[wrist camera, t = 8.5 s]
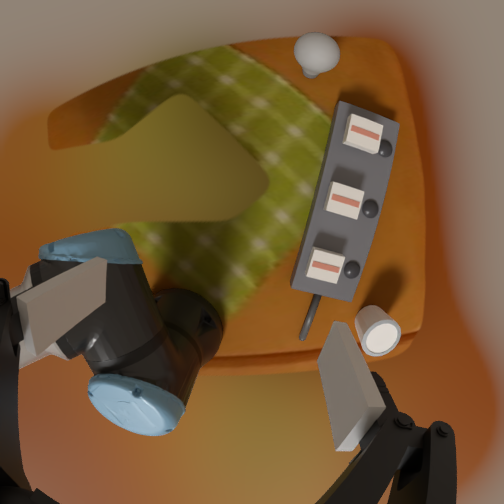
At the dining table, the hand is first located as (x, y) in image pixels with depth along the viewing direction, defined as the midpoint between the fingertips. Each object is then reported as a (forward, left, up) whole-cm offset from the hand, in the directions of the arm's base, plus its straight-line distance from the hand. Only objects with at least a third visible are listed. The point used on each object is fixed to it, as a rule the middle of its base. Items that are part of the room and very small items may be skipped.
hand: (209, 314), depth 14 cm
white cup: (+24, -10, -29) cm, 39 cm away
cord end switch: (+11, -1, -26) cm, 28 cm away
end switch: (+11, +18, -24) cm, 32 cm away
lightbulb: (+3, +27, -29) cm, 40 cm away
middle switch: (+11, +8, -26) cm, 29 cm away
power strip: (+13, +3, -29) cm, 32 cm away
